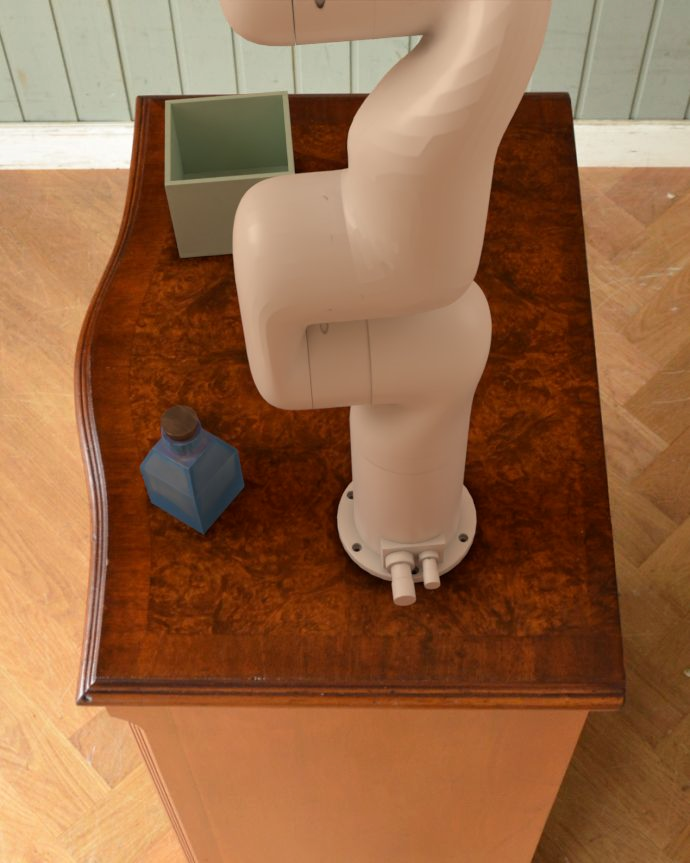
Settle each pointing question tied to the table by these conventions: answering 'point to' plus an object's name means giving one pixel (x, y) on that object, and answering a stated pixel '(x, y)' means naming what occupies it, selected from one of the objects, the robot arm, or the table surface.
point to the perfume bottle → (191, 470)
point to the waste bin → (221, 162)
